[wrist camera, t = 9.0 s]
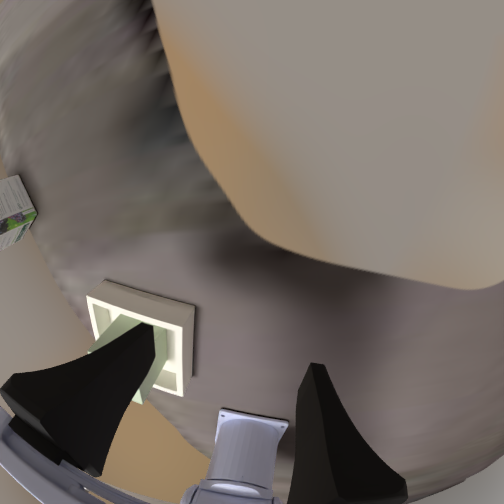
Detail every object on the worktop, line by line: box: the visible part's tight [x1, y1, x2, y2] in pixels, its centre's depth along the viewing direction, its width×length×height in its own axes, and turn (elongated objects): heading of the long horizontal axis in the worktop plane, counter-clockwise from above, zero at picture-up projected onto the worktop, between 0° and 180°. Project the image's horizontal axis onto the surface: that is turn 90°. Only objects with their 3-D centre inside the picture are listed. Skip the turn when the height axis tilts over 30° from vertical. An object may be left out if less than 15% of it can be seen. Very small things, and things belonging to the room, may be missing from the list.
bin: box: [86, 280, 195, 397], centre depth 23 cm, size 9×9×3 cm
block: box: [88, 314, 168, 404], centre depth 21 cm, size 4×4×6 cm
